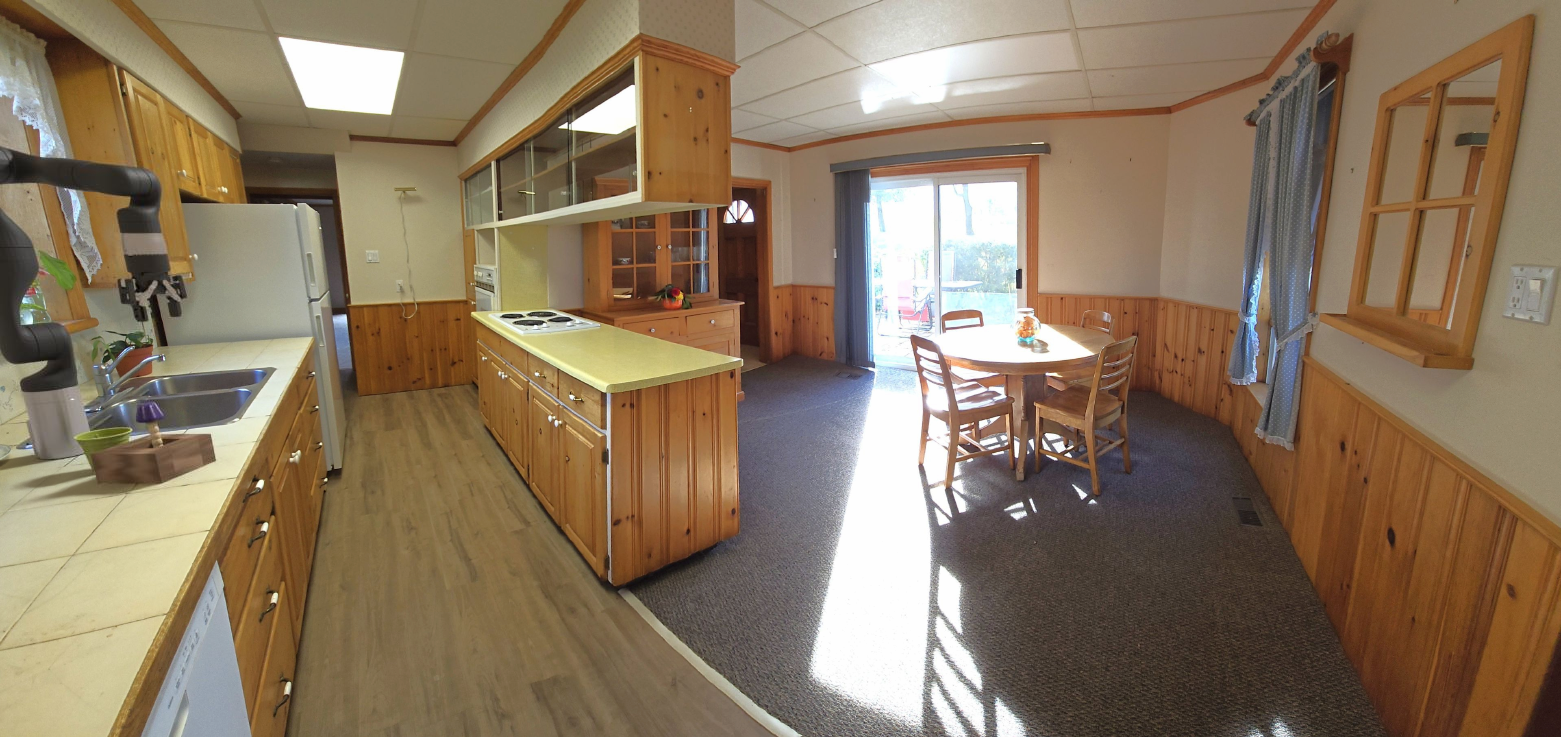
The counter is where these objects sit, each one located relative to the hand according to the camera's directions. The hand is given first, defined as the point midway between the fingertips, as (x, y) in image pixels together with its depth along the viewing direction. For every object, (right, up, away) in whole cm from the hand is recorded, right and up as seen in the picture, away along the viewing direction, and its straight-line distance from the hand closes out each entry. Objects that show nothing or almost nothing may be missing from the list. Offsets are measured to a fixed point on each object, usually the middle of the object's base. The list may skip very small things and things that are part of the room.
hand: (159, 319), depth 152 cm
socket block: (+7, -36, -7) cm, 38 cm away
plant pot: (-7, -36, -5) cm, 37 cm away
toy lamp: (+8, -37, -7) cm, 38 cm away
